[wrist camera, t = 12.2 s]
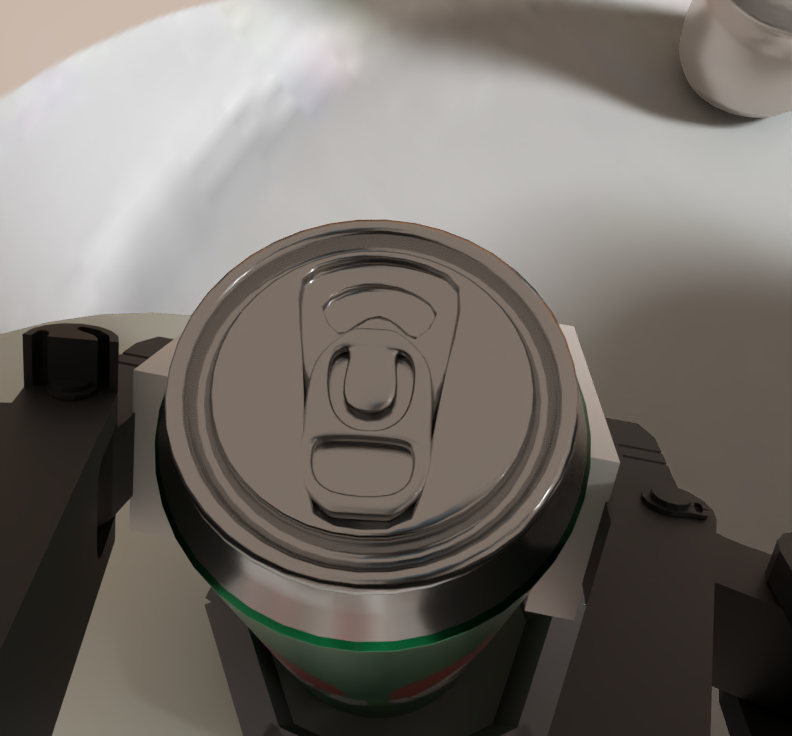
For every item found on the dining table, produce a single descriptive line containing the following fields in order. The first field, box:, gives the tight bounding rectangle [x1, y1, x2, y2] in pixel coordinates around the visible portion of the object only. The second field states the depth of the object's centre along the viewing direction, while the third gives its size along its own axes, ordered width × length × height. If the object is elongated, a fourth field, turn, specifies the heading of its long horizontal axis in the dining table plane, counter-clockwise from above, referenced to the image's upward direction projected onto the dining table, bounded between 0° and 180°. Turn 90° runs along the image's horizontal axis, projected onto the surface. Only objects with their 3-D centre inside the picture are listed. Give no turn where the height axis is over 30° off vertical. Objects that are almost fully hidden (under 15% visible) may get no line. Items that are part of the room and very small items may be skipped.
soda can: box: [155, 220, 591, 718], centre depth 13 cm, size 5×5×12 cm
